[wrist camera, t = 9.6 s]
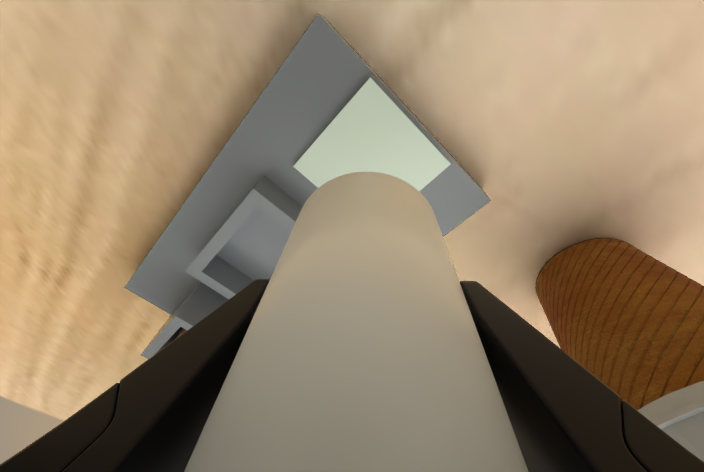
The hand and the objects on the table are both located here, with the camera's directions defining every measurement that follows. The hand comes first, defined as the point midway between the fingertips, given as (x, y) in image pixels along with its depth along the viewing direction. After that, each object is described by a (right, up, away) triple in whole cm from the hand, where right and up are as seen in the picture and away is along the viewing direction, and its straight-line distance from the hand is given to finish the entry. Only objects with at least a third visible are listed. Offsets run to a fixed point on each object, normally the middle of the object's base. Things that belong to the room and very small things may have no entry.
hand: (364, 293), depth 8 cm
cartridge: (0, +1, +2) cm, 2 cm away
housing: (-4, +1, +13) cm, 14 cm away
